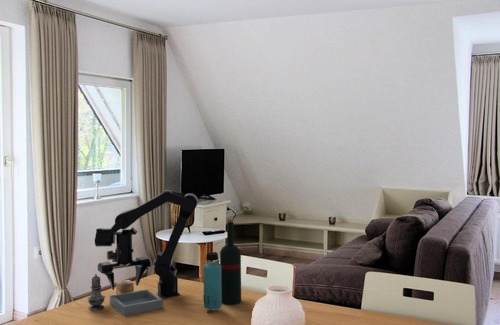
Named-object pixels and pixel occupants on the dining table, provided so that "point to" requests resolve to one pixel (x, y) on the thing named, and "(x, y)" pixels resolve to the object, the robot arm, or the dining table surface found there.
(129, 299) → the low wall corral
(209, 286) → the beverage bottle
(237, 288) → the wine bottle
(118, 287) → the light brown block
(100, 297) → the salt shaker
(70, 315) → the dining table surface
